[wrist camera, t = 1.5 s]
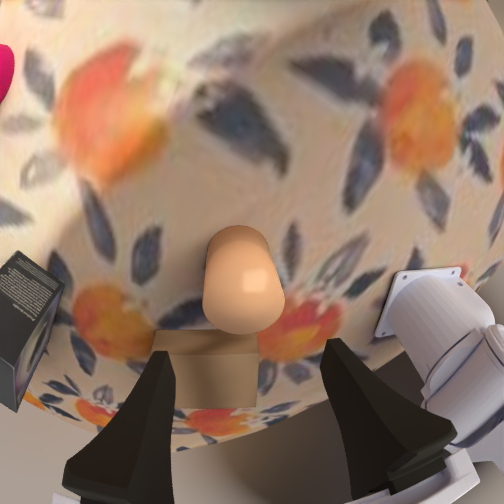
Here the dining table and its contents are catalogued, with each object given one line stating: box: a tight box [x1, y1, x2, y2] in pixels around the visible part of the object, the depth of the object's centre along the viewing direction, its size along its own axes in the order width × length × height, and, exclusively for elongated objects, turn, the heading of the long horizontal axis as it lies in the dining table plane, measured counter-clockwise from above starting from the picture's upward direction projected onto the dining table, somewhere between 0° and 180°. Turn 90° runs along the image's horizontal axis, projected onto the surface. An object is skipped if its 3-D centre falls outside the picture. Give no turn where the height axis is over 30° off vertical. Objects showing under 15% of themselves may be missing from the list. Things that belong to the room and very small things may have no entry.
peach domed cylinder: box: [203, 225, 285, 335], centre depth 18 cm, size 5×5×6 cm
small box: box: [0, 251, 64, 413], centre depth 17 cm, size 11×6×10 cm, turn 142°
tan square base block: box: [151, 330, 259, 409], centre depth 25 cm, size 9×9×3 cm
